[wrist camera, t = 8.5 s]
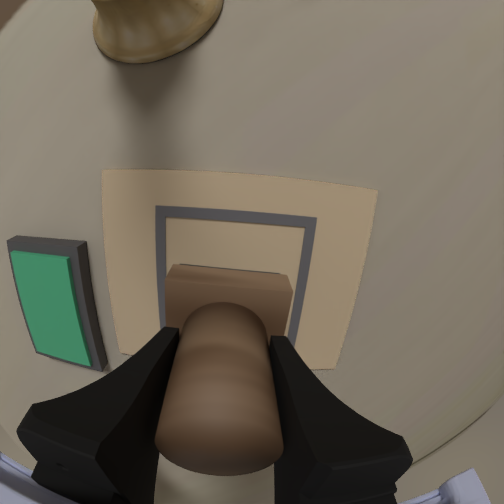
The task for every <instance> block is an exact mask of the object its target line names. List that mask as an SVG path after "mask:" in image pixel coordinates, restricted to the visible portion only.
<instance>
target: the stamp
mask: <svg viewBox="0 0 504 504" xmlns="http://www.w3.org/2000/svg"><path fill="white" fill-rule="evenodd" d="M292 296H293V289H292V287H291V284H290V281H289V279H288V276H287V275H283V274H280V273H274V272H262V271H252V270H241V269H230V268H220V267H210V266H200V265H190V264H181V263H180V264H173V265H172V267H171V269H170V271H169V272H168V274H167V276H166V278H165V320H166V327H174V328H179V337H180V339H179V343H178V347H177V350H176V354H175V358H174V362H173V365H172V369H171V373H170V377H169V381H168V385H167V389H166V393H165V397H164V401H163V405H162V409H161V414H160V418H159V422H158V426H157V431H156V435H155V445H156V447H157V449H158V451H159V452H160V453H161V454H162V455H163V456H164V457H165V458H166V459H168V460H169V461H170V462H172V463H174V464H176V465H178V466H180V467H182V468H184V469H187V470H190V471H193V472H197V473H202V474H207V475H216V476H235V475H243V474H248V473H253V472H256V471H259V470H262V469H264V468H266V467H268V466H270V465H272V464H273V463H275V462H276V461H277V460H278V459H279V458H280V456H281V455H282V453H283V447H284V446H283V439H282V432H281V425H280V419H279V412H278V405H277V399H276V392H275V385H274V379H273V372H272V365H271V359H270V352H269V344H270V338H271V335H275V336H284V333H285V329H286V324H287V320H288V315H289V310H290V306H291V301H292Z"/></svg>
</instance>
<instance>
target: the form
mask: <svg viewBox="0 0 504 504" xmlns="http://www.w3.org/2000/svg"><path fill="white" fill-rule="evenodd" d="M377 193H378V190H373V189H367V188H361V187H355V186H348V185H341V184H334V183H327V182H320V181H312V180H304V179H295V178H286V177H276V176H266V175H254V174H242V173H228V172H212V171H191V170H156V169H114V170H102V212H103V233H104V247H105V258H106V268H107V277H108V285H109V293H110V300H111V306H112V313H113V319H114V324H115V330H116V335H117V340H118V345H119V350H120V353H124V354H130V355H134V354H135V353H136V352H137V351H139V350H140V349H141V348H142V347H143V346H144V345H145V344H146V343H147V342H148V341H150V340H151V339H152V338H153V337H154V336H155V335H156V334H157V333H158V332H159V331H160V330H161V329H162V328H163V327H164V326H165V327H166V320H165V278H166V276H167V274H168V272H169V271H170V269H171V267H172V265H173V264H180V263H181V264H190V265H200V266H210V267H220V268H230V269H241V270H252V271H262V272H274V273H280V274H283V275H287V276H288V279H289V281H290V284H291V287H292V289H293V296H292V301H291V306H290V310H289V315H288V320H287V324H286V329H285V333H284V336H286V337H287V338H288V339H289V341H290V342H291V344H292V345H293V347H294V348H295V350H296V351H297V353H298V354H299V356H300V357H301V358H302V360H303V361H304V362H305V364H306V365H307V366H308V367H309V369H335V367H336V364H337V361H338V358H339V355H340V352H341V349H342V345H343V342H344V339H345V336H346V332H347V329H348V325H349V322H350V318H351V315H352V311H353V308H354V304H355V300H356V296H357V292H358V288H359V284H360V280H361V276H362V272H363V267H364V263H365V258H366V254H367V249H368V244H369V239H370V234H371V229H372V223H373V218H374V212H375V206H376V200H377Z"/></svg>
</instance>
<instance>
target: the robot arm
mask: <svg viewBox="0 0 504 504" xmlns="http://www.w3.org/2000/svg"><path fill="white" fill-rule="evenodd" d="M179 339H180V337H179V328H174V327H165V326H164V327H163V328H162V329H161V330H160V331H159V332H158V333H157V334H156V335H155V336H154V337H153V338H152V339H151V340H150V341H148V342H147V343H146V344H145V345H144V346H143V347H142V348H141V349H140V350H139V351H137V352H136V353H135V354H134V355H133V356H132V357H130V358H129V359H128V360H127V361H125V362H124V363H123V364H122V365H120V366H119V367H118V368H116V369H115V370H113V371H112V372H110V373H109V374H107V375H106V376H104V377H102V378H101V379H99V380H97V381H95V382H93V383H91V384H89V385H87V386H85V387H83V388H81V389H79V390H77V391H74V392H72V393H69V394H67V395H64V396H61V397H58V398H55V399H51V400H47V401H44V402H40V403H35V404H32V406H31V407H30V409H29V410H28V412H27V413H26V415H25V417H24V418H23V420H22V421H21V423H20V425H19V426H18V428H17V431H16V432H17V435H18V437H19V439H20V441H21V442H22V444H23V445H24V446H25V447H26V449H27V450H28V451H29V452H30V453H31V455H32V456H33V457H34V458H35V459H36V460H37V461H38V462H37V464H36V466H35V469H34V471H32V470H30V469H28V468H26V467H25V466H23V465H21V464H19V463H18V462H16V461H14V460H12V459H11V458H9V457H8V456H6V455H5V454H3V453H2V452H0V504H154V491H155V482H156V473H157V466H158V459H159V451H158V449H157V447H156V445H155V435H156V431H157V426H158V422H159V418H160V414H161V409H162V405H163V401H164V397H165V393H166V389H167V385H168V381H169V377H170V373H171V369H172V365H173V362H174V358H175V354H176V350H177V347H178V343H179ZM269 352H270V359H271V365H272V372H273V379H274V385H275V392H276V399H277V405H278V412H279V419H280V425H281V432H282V439H283V446H284V447H283V453H282V455H281V456H280V458H279V459H278V460H277V461H276V462H275V463H274V485H275V504H397V502H396V499H395V496H394V493H395V492H396V491H397V488H396V485H395V482H396V481H397V480H398V479H399V478H400V477H401V476H402V475H403V474H404V473H405V472H406V471H407V470H408V469H409V467H410V466H411V464H412V461H413V458H412V456H411V453H410V451H409V448H408V446H407V444H406V442H405V440H404V439H403V437H402V436H400V435H398V434H395V433H393V432H391V431H389V430H386V429H384V428H382V427H380V426H378V425H376V424H374V423H373V422H371V421H369V420H367V419H366V418H364V417H363V416H361V415H359V414H358V413H356V412H355V411H354V410H352V409H351V408H350V407H348V406H347V405H345V404H344V403H343V402H342V401H340V400H339V399H338V398H337V397H336V396H335V395H334V394H332V393H331V392H330V391H329V390H328V389H327V388H326V387H325V386H324V385H323V384H322V383H321V382H320V380H319V379H318V378H317V377H316V376H315V375H314V374H313V372H312V371H311V370H310V369H309V367H308V366H307V365H306V364H305V362H304V361H303V360H302V358H301V357H300V356H299V354H298V353H297V351H296V350H295V348H294V347H293V345H292V344H291V342H290V341H289V339H288V338H287V337H286V336H275V335H271V338H270V344H269ZM398 504H491V503H490V501H489V499H488V496H487V494H486V492H485V490H484V488H483V486H482V484H481V482H480V480H479V478H478V476H477V474H476V472H475V470H474V468H470V469H468V470H466V471H464V472H462V473H460V474H457V475H456V476H453V477H452V478H450V479H449V480H447V481H446V482H444V483H443V484H442V485H441V486H440V487H439V488H438V489H436V490H434V491H431V492H429V493H426V494H424V495H421V496H418V497H416V498H413V499H410V500H407V501H404V502H401V503H398Z"/></svg>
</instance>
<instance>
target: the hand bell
mask: <svg viewBox="0 0 504 504" xmlns="http://www.w3.org/2000/svg"><path fill="white" fill-rule="evenodd" d="M91 1H92V2H93V3H94V5H95V7H96V12H95V15H94V20H93V35H94V39H95V42H96V44H97V46H98V47H99V49H100V50H101V51H102V52H103V53H104V54H105V55H106V56H108V57H110V58H112V59H114V60H117V61H121V62H125V63H147V62H153V61H156V60H160V59H163V58H166V57H168V56H171V55H173V54H176V53H178V52H180V51H182V50H184V49H185V48H187V47H188V46H190V45H191V44H193V43H194V42H196V41H197V40H198V39H199V38H201V37H202V36H203V35H204V34H205V33H206V32H207V31H208V30H209V29H210V27H211V26H212V25H213V23H214V22H215V21H216V19H217V18H218V16H219V14H220V11H221V9H222V5H223V0H91Z"/></svg>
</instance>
